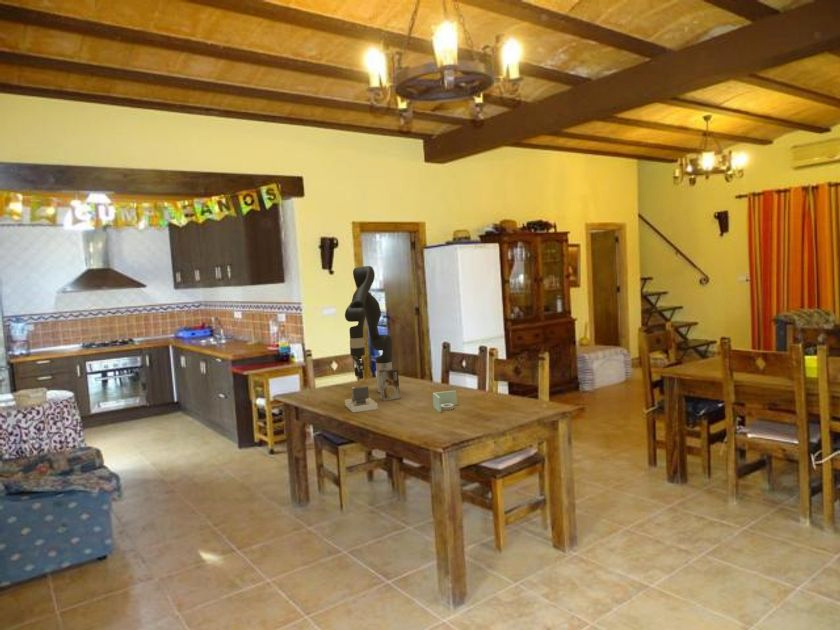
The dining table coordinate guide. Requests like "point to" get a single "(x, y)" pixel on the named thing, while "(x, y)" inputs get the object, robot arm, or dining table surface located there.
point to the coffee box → (389, 384)
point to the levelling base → (360, 405)
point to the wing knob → (360, 394)
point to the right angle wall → (444, 400)
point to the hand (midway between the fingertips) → (359, 377)
